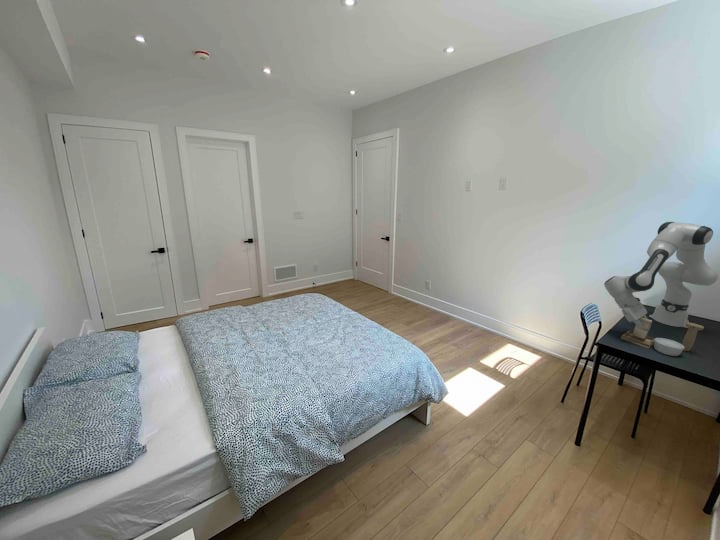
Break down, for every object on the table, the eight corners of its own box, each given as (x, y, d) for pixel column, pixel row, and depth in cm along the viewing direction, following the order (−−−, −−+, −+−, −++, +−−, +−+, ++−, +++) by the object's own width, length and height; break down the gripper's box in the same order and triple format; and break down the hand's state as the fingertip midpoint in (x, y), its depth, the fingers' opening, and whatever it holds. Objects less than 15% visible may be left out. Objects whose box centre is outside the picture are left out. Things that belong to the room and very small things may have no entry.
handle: (692, 354, 155) (702, 328, 151) (675, 348, 160) (685, 323, 156) (694, 351, 158) (705, 326, 153) (678, 345, 163) (687, 321, 158)
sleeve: (634, 335, 170) (640, 317, 167) (645, 339, 166) (652, 320, 163) (631, 338, 168) (637, 319, 164) (642, 342, 164) (649, 322, 160)
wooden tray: (628, 333, 175) (629, 330, 175) (655, 342, 166) (656, 339, 165) (620, 338, 169) (621, 335, 168) (648, 348, 159) (649, 345, 158)
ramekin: (647, 348, 160) (650, 339, 158) (657, 344, 164) (661, 335, 163) (674, 359, 150) (678, 350, 148) (685, 354, 154) (688, 346, 153)
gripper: (627, 304, 161) (645, 327, 156) (639, 297, 172) (657, 319, 167) (614, 308, 166) (631, 331, 161) (628, 302, 177) (644, 323, 172)
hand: (644, 325), depth 164 cm, fingers open, 8 cm apart
